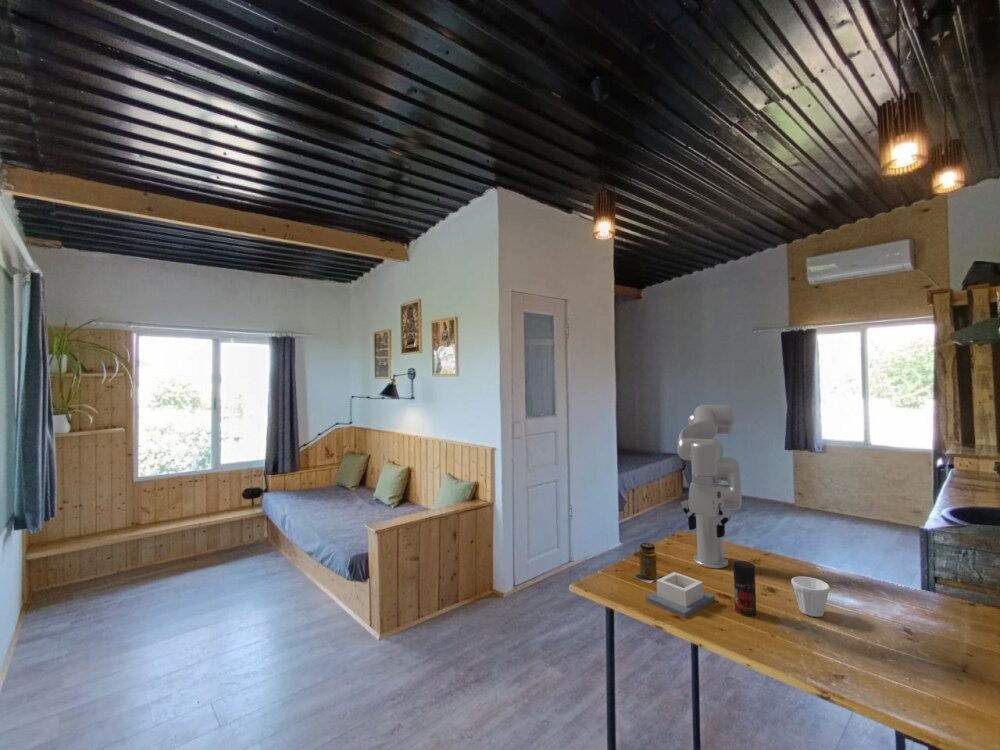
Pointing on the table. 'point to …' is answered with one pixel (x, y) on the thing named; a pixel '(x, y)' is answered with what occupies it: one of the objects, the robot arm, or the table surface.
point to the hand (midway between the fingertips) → (706, 532)
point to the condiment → (647, 563)
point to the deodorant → (744, 588)
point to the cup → (810, 595)
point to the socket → (680, 594)
